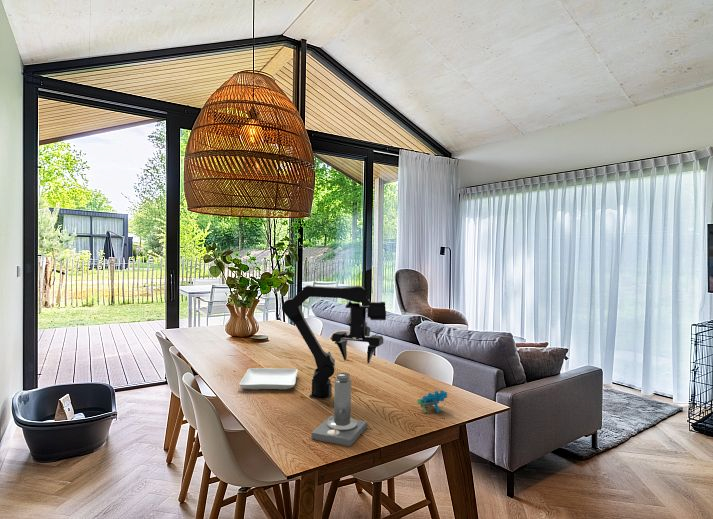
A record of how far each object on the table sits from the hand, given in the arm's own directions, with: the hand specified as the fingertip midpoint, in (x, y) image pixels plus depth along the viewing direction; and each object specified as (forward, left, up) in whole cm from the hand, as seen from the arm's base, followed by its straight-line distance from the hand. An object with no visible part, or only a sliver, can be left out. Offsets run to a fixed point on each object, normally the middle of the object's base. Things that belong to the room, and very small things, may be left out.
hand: (356, 361), depth 161 cm
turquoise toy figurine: (+29, -1, -13) cm, 32 cm away
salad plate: (-37, 0, -14) cm, 39 cm away
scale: (+7, -32, -13) cm, 35 cm away
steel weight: (+7, -30, -10) cm, 32 cm away
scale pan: (+7, -30, -11) cm, 33 cm away
